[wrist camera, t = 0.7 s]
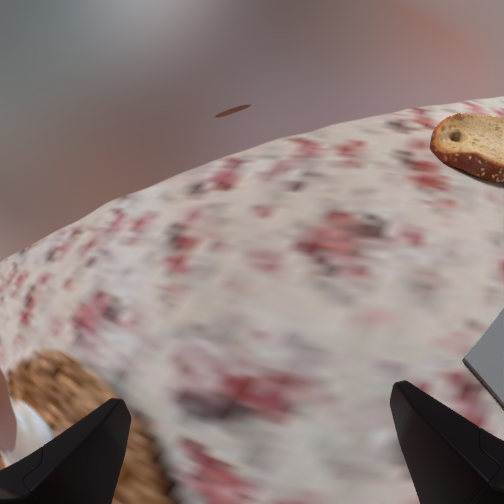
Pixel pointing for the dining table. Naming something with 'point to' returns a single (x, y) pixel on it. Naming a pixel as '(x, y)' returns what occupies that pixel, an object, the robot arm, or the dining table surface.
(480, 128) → the slice of bread
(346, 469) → the dining table surface
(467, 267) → the dining table surface
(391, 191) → the dining table surface
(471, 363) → the grey panel
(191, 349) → the dining table surface
